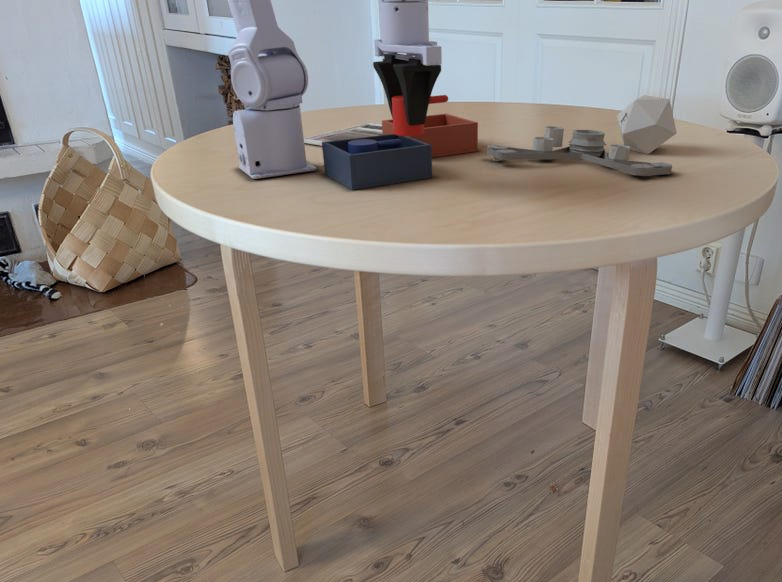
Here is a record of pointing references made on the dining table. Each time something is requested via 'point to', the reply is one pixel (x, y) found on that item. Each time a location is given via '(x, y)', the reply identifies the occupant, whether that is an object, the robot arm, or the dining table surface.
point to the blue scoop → (370, 145)
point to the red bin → (445, 134)
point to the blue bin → (378, 162)
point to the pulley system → (580, 152)
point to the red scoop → (400, 117)
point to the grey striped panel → (346, 133)
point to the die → (646, 123)
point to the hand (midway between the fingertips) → (408, 121)
